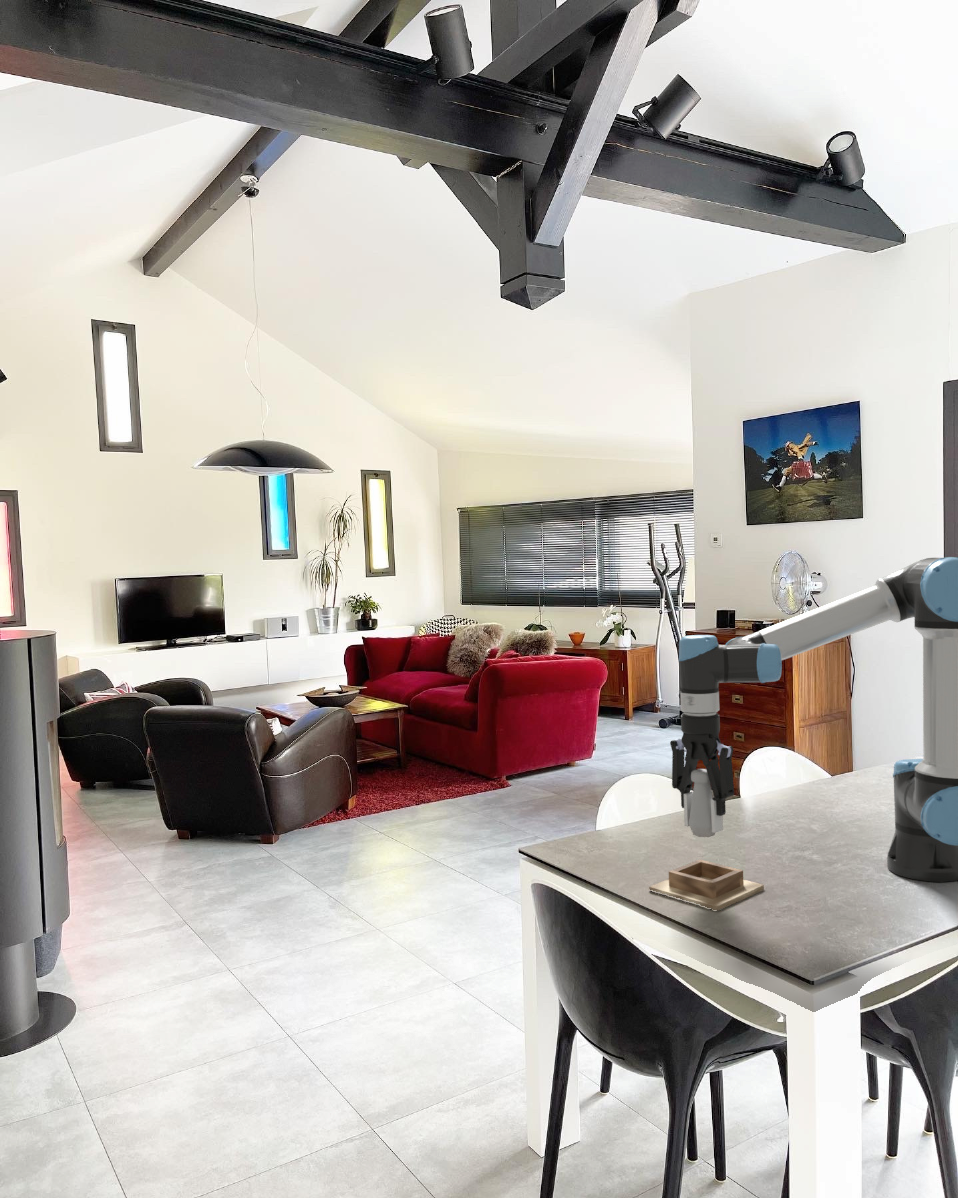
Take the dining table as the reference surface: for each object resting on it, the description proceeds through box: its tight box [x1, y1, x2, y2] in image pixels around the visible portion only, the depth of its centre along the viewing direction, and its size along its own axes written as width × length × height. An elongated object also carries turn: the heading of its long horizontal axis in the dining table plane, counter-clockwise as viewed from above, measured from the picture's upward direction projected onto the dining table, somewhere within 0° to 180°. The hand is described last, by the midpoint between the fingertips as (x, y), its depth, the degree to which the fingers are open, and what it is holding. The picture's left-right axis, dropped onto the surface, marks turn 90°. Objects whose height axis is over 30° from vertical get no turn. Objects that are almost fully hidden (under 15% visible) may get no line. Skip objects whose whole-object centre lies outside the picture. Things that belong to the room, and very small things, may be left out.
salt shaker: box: [688, 768, 716, 838], centre depth 186 cm, size 6×6×13 cm
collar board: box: [648, 859, 765, 911], centre depth 186 cm, size 16×16×4 cm
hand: (703, 827), depth 186 cm, fingers closed on salt shaker, 6 cm apart
